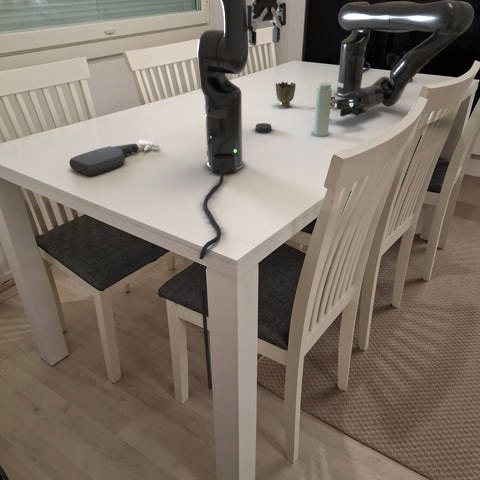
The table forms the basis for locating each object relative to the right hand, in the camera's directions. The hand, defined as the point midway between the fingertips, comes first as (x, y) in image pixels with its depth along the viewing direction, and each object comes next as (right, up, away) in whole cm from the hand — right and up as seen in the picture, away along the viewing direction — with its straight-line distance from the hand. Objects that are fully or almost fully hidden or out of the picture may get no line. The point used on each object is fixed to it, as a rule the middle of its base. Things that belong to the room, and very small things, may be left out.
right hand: (330, 110), depth 140 cm
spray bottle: (-63, -18, -15) cm, 67 cm away
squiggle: (+44, +31, +60) cm, 81 cm away
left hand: (-21, +17, -10) cm, 29 cm away
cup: (-12, +10, +28) cm, 32 cm away
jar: (-3, -7, +1) cm, 8 cm away
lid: (-21, -4, +3) cm, 22 cm away
